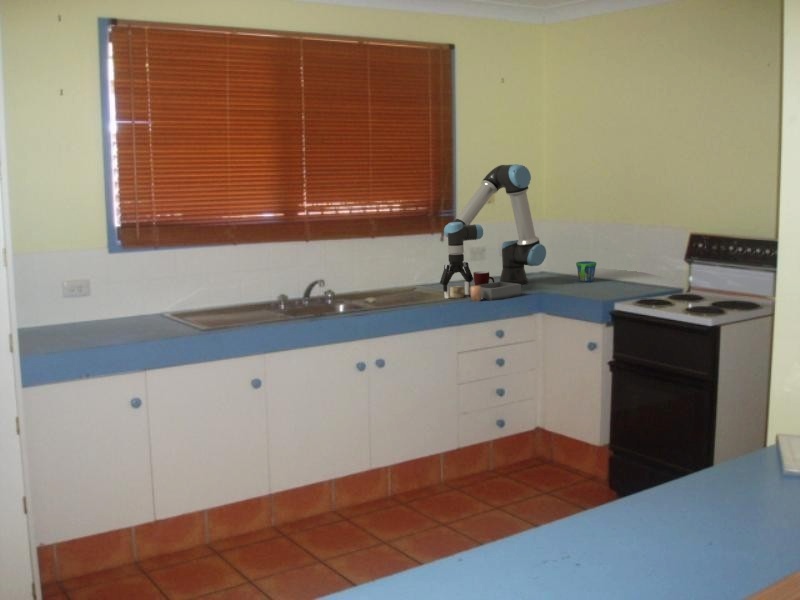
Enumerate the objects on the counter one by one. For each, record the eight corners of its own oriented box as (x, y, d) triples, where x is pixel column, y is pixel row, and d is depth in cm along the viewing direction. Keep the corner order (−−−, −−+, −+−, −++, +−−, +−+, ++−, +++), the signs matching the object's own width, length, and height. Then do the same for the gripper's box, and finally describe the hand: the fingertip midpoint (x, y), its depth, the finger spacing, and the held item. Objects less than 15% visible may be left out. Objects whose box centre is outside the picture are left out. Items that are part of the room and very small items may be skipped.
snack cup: (590, 283, 471) (590, 264, 469) (571, 283, 476) (571, 264, 475) (600, 279, 484) (600, 261, 482) (582, 279, 490) (582, 260, 488)
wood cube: (457, 295, 450) (457, 286, 449) (464, 296, 446) (464, 286, 445) (450, 297, 447) (449, 287, 446) (456, 298, 443) (456, 288, 442)
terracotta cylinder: (476, 299, 436) (476, 285, 435) (483, 300, 432) (483, 286, 431) (468, 300, 433) (468, 286, 432) (475, 301, 429) (475, 287, 428)
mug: (492, 289, 464) (491, 270, 463) (496, 291, 456) (495, 272, 455) (472, 291, 463) (471, 271, 461) (475, 293, 455) (475, 273, 453)
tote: (500, 292, 455) (499, 281, 454) (521, 295, 443) (521, 284, 442) (470, 297, 443) (470, 286, 442) (491, 300, 431) (491, 289, 430)
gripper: (469, 250, 453) (470, 292, 456) (431, 255, 438) (433, 298, 442) (479, 251, 447) (480, 294, 451) (441, 256, 432) (443, 300, 436)
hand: (457, 296), depth 446 cm, fingers open, 13 cm apart
